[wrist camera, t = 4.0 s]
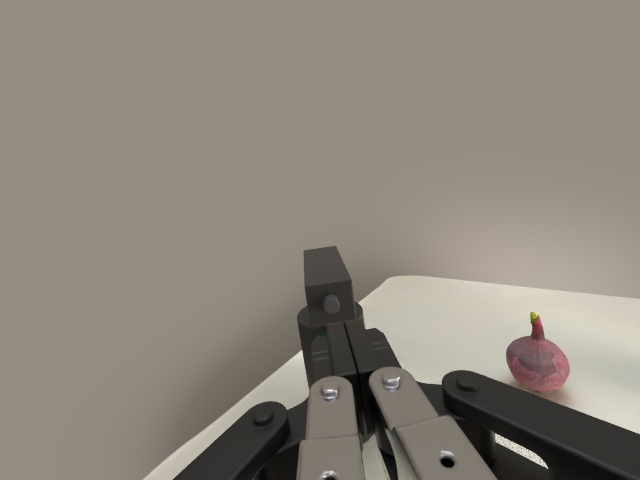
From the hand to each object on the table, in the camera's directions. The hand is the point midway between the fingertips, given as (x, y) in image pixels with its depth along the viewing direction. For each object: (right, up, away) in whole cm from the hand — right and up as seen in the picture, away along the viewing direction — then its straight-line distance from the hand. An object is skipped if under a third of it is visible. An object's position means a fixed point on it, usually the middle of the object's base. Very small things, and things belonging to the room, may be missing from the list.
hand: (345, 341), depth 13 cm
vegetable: (+24, -14, +24) cm, 37 cm away
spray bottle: (+2, -18, +20) cm, 27 cm away
